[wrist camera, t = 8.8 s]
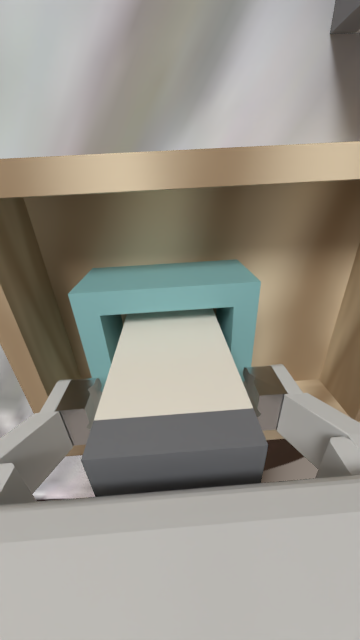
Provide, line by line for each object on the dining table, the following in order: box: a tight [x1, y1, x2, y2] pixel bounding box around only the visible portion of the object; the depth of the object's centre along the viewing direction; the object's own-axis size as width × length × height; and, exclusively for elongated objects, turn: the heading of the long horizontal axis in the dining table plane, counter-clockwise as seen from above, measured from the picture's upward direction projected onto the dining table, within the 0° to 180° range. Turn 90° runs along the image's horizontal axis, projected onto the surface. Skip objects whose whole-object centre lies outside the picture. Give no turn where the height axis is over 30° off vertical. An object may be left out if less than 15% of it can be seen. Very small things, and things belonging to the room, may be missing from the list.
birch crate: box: [0, 141, 360, 456], centre depth 12 cm, size 18×14×4 cm
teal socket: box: [68, 259, 261, 392], centre depth 12 cm, size 7×7×4 cm
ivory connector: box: [81, 308, 268, 497], centre depth 10 cm, size 4×4×9 cm
